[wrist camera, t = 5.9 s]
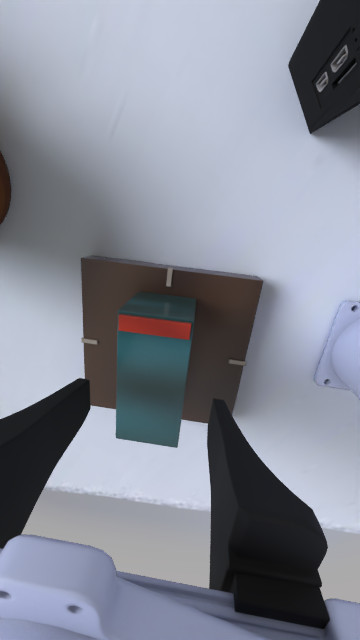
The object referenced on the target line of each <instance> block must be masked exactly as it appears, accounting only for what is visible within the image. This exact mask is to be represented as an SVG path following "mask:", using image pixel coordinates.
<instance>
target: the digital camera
mask: <svg viewBox="0 0 360 640" xmlns="http://www.w3.org/2000/svg"><path fill="white" fill-rule="evenodd" d="M288 66H289V70H290V73H291V76H292V79H293V82H294V85H295V88H296V91H297V94H298V98H299V101H300V104H301V107H302V110H303V113H304V116H305V119H306V122H307V126H308V129H309V132H310V134H311V133H312V132H314V131H316V130H317V129H319V128H321V127H322V126H324V125H326V124H327V123H329V122H331V121H332V120H334V119H336V118H337V117H339V116H341V115H342V114H344V113H345V112H347V111H349V110H350V109H352V108H354V107H355V106H357V105H359V104H360V0H320V2H319V4H318V6H317V8H316V10H315V12H314V14H313V16H312V17H311V19H310V21H309V23H308V25H307V27H306V29H305V31H304V33H303V35H302V37H301V39H300V41H299V43H298V45H297V47H296V49H295V51H294V53H293V55H292V57H291V60H290V62H289V65H288Z"/></svg>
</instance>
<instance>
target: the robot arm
mask: <svg viewBox="0 0 360 640" xmlns="http://www.w3.org/2000/svg"><path fill="white" fill-rule="evenodd" d="M353 306H356V308H355V309H354V310H352V307H353ZM327 379H328V380H327ZM325 380H327V381H326V382H324V381H325ZM314 381H315V383H316V384H317V385H320V386H327V387H334V388H341V389H348V390H351V391H352V392H353V393H354V394H355V395H356V396H357V397H358V398H359V399H360V302H355V301H344V302H343V303H342V304H341V305H340V308H339V311H338V313H337V316H336V319H335V322H334V324H333V327H332V330H331V333H330V336H329V338H328V341H327V344H326V347H325V349H324V352H323V355H322V358H321V361H320V363H319V366H318V369H317V372H316V375H315V377H314ZM89 410H90V380H88V379H82V378H79V379H77V380H75V381H74V382H72V383H70V384H68V385H67V386H65V387H63V388H62V389H60V390H58V391H57V392H55V393H53V394H52V395H50V396H48V397H46V398H44V399H42V400H41V401H39V402H37V403H35V404H33V405H31V406H29V407H27V408H25V409H23V410H21V411H19V412H17V413H14V414H12V415H10V416H7V417H5V418H2V419H0V640H360V603H356V602H351V601H345V600H340V599H327V600H325V601H324V600H323V597H322V594H321V591H320V588H319V587H321V586H322V582H321V579H320V576H319V573H318V568H319V566H320V564H321V562H322V560H323V558H324V557H325V554H326V552H327V548H328V547H327V541H326V538H325V536H324V533H323V531H322V528H321V526H320V524H319V522H318V520H317V518H316V516H315V514H314V512H313V510H312V509H311V508H310V507H309V506H308V505H306V504H305V503H304V502H303V501H302V500H301V499H299V498H298V497H297V496H296V495H295V494H294V493H292V492H291V491H290V490H289V489H288V488H287V487H286V486H285V485H284V484H283V483H282V482H281V481H280V480H279V479H278V478H277V477H276V476H275V475H274V474H273V473H272V472H271V471H270V470H269V468H268V467H267V466H266V465H265V464H264V463H263V462H262V460H261V459H260V458H259V457H258V455H257V454H256V453H255V452H254V450H253V449H252V447H251V446H250V445H249V443H248V442H247V440H246V439H245V437H244V436H243V434H242V432H241V431H240V429H239V427H238V426H237V424H236V422H235V420H234V419H233V417H232V415H231V413H230V411H229V409H228V407H227V404H226V402H225V401H224V400H221V399H214V398H213V402H212V407H211V412H210V418H209V423H208V436H207V447H208V460H209V472H210V484H211V546H210V585H209V586H210V587H209V589H207V588H201V587H197V586H192V585H187V584H182V583H176V582H171V581H166V580H161V579H155V578H150V577H145V576H140V575H135V574H130V573H124V572H120V571H116V568H115V565H114V562H113V560H112V558H111V557H110V556H109V555H108V554H107V553H105V552H104V551H103V550H101V549H98V548H95V547H92V546H89V545H83V544H78V543H73V542H67V541H62V540H57V539H52V538H46V537H41V536H36V535H21V533H22V531H23V529H24V527H25V525H26V523H27V520H28V518H29V516H30V514H31V512H32V510H33V508H34V506H35V504H36V502H37V500H38V498H39V496H40V494H41V492H42V490H43V488H44V486H45V484H46V483H47V481H48V479H49V477H50V475H51V473H52V471H53V470H54V468H55V466H56V464H57V463H58V461H59V460H60V458H61V457H62V455H63V454H64V452H65V450H66V449H67V447H68V446H69V444H70V443H71V441H72V440H73V438H74V437H75V435H76V434H77V432H78V431H79V429H80V428H81V426H82V424H83V423H84V421H85V419H86V417H87V414H88V412H89Z"/></svg>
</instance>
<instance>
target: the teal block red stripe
mask: <svg viewBox="0 0 360 640" xmlns="http://www.w3.org/2000/svg"><path fill="white" fill-rule="evenodd" d="M196 300H197V299H195V298H187V297H179V296H171V295H163V294H155V293H147V292H138V293H137V294H136V295H134V296H133V297H132V298H131V299H130V300H129V301H128V302H127V303H126V304H124V305H123V306H122V307H121V308H120V309H119V310H118V330H117V398H116V438H118V439H124V440H131V441H137V442H143V443H150V444H156V445H163V446H169V447H175V448H177V447H178V440H179V432H180V425H181V417H182V410H183V402H184V395H185V388H186V380H187V373H188V365H189V358H190V350H191V343H192V336H193V328H194V321H195V310H196Z"/></svg>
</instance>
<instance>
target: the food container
mask: <svg viewBox="0 0 360 640" xmlns="http://www.w3.org/2000/svg"><path fill="white" fill-rule="evenodd" d="M10 199H11V185H10V177H9V173H8V169H7V166H6V163H5V161H4V158H3V155H2V153H1V152H0V224H1V223H2V222H3V220H4V218H5V217H6V215H7V212H8V209H9V205H10Z"/></svg>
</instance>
